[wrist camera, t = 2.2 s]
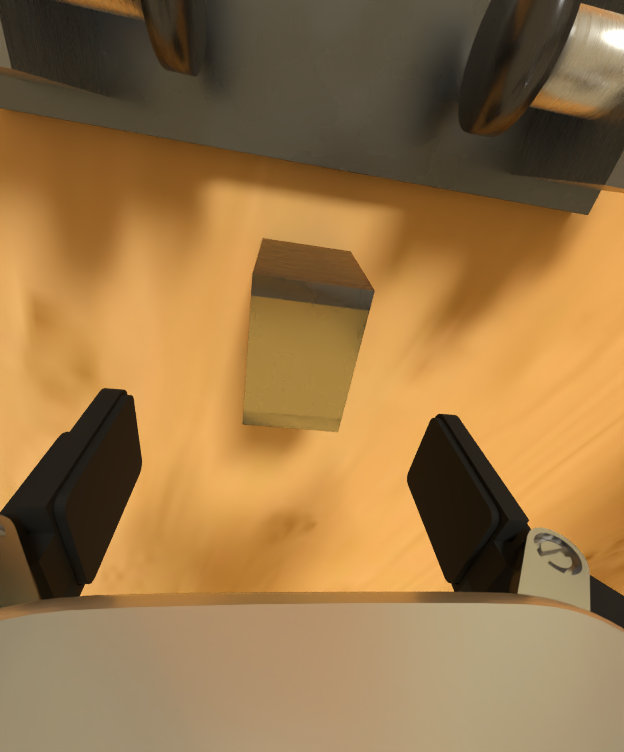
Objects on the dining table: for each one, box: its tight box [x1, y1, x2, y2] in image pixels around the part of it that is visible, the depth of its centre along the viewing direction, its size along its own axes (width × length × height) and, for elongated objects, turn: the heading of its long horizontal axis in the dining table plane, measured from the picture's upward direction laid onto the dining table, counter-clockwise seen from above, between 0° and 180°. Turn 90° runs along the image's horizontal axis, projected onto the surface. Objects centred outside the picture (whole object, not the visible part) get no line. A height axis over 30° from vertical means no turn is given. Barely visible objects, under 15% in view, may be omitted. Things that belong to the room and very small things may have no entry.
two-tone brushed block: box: [243, 238, 374, 432], centre depth 17 cm, size 7×4×6 cm, turn 171°
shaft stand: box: [0, 0, 624, 215], centre depth 11 cm, size 28×8×7 cm, turn 81°
